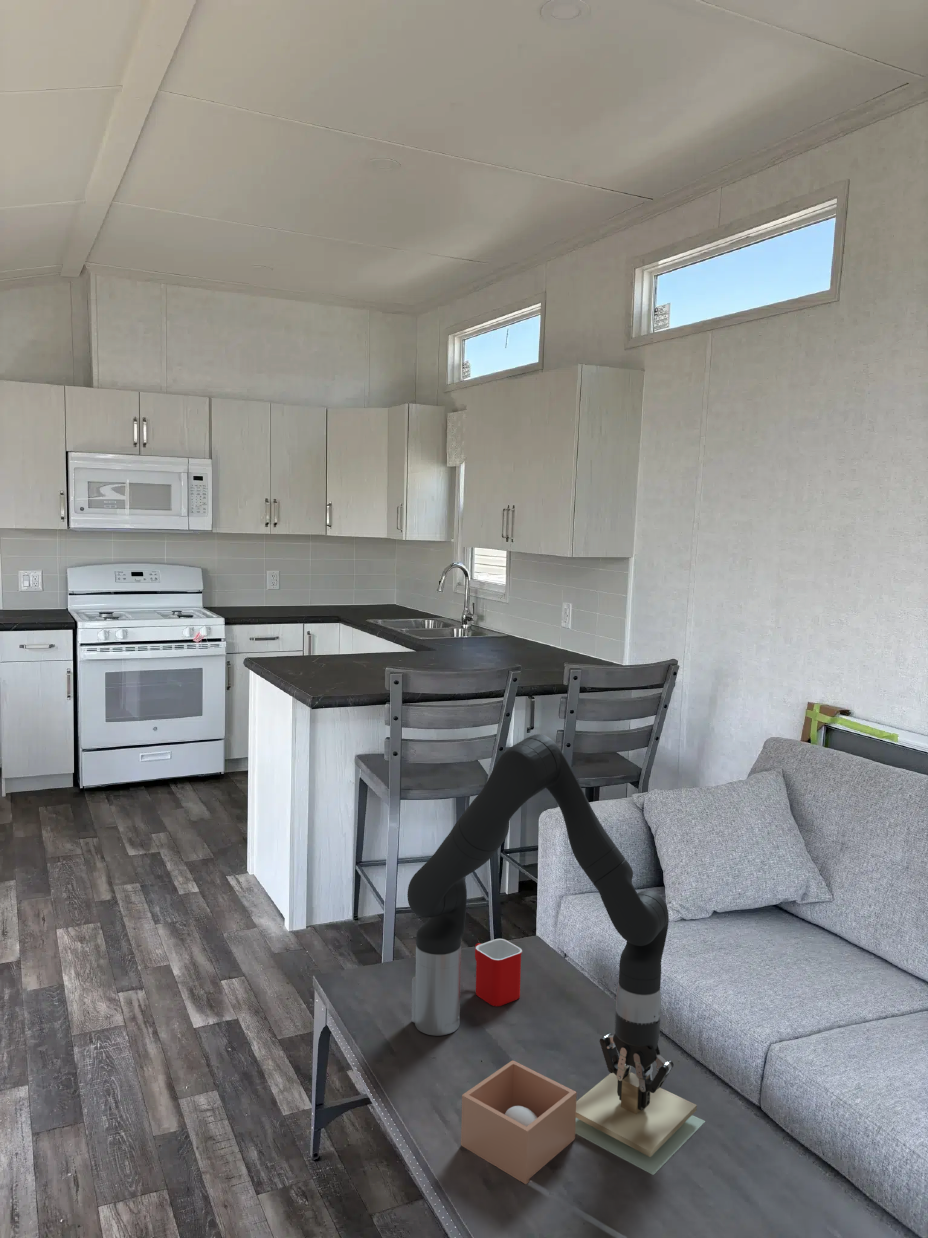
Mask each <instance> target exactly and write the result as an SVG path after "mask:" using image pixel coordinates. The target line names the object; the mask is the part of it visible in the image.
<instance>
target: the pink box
mask: <svg viewBox="0 0 928 1238" xmlns="http://www.w3.org/2000/svg"><path fill="white" fill-rule="evenodd" d="M577 1095H578V1094H577V1091H575V1090H574V1089H571V1088H569V1087H568V1086H565V1085H563V1084H562V1083H559V1082H557V1081H555V1080H554V1079H552V1078H550V1077H547V1076H545V1075H543V1074H541V1073H540V1072H537V1071H535V1070H533V1069H531V1068H529V1067H528V1066H525V1065H523V1064H521V1063H519V1062H517V1061H515V1060H511V1061H509V1062H508V1063H506V1064H505V1065H503V1066H502V1067H501V1068H499V1069H497V1070H496V1071H495V1072H493V1073H492V1074H490V1075H489V1076H488V1077H486V1078H485V1079H483V1080H481V1081H480V1082H479V1083H477V1084H476V1085H475V1086H473V1087H471V1088H470V1089H468V1090H467V1091H466V1092H464V1093H463V1094H462V1095H461V1125H460V1126H461V1127H460V1128H461V1131H460V1132H461V1133H460V1135H461V1136H460V1146H461V1147H463V1148H465V1149H466V1150H468V1151H470V1152H471V1153H473V1154H474V1155H476V1156H478V1157H479V1158H480V1159H483V1160H485V1161H486V1162H488V1163H489V1164H491V1165H493V1166H495V1167H496V1168H498V1169H499V1170H501V1171H502V1172H505V1173H506V1174H508V1175H509V1176H511V1177H513V1178H514V1179H516V1180H518V1181H519V1182H520V1183H521V1182H522V1183H523V1184H524V1185H528V1183H530V1182H531V1181H532V1179H531V1178H532V1177H533V1176H534V1175H535V1174H537V1172H539V1171H540V1170H541V1169H542V1168H543V1167H545V1165H547V1164H548V1163H549V1162H551V1161H552V1160H553V1159H554V1158H556V1156H557V1155H558V1154H560V1152H562V1151H563V1150H564V1149H566V1147H568V1146H569V1145H570V1144H571V1143H572V1142H573V1141H574V1140H576V1134H575V1125H576V1101H577ZM513 1106H523V1107H526V1108H528V1109H529V1110H531V1111H532V1112H533V1113H534V1114H535V1115H536V1116H537V1119H536V1120H534V1121H533V1122H532V1123H531V1124H529V1125H528V1126H527V1127H526V1126H524V1125H523V1124H521V1123H519V1122H517V1121H515V1120H514V1119H512V1118H510V1117H508V1116H506V1115H505V1113H506V1111H507V1110H508V1109H509V1108H511V1107H513Z"/></svg>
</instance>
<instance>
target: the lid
mask: <svg viewBox="0 0 928 1238" xmlns="http://www.w3.org/2000/svg"><path fill="white" fill-rule="evenodd" d="M617 1086H618V1079H617V1076H616V1075H615V1074H614V1073H610V1072H609V1073H608V1074H607V1075H606V1076H605V1077H604V1078H603V1079H602V1080H600V1081H599V1082H598V1083H596V1084H595V1085H594V1086H593V1087H592V1088H591V1089H589V1090H588V1091H587V1092H586V1093H585V1094H584V1095H582V1096H581V1097H580V1098H579V1099H578V1100H576V1118H578V1119H579V1120H581V1121H583V1122H585V1123H587V1124H589V1125H591V1126H593V1127H594V1128H596V1129H598V1130H600V1131H602V1132H604V1133H606V1134H608V1135H610V1136H611V1137H613V1138H615V1139H617V1140H619V1141H621V1142H623V1143H625V1144H626V1145H628V1146H630V1147H632V1148H634V1149H636V1150H638V1151H640V1152H641V1153H643V1154H645V1155H647V1156H649V1157H651V1156H652V1155H653V1154H654V1153H655V1152H656V1151H657V1150H658V1149H659V1148H660V1147H661V1146H662V1145H663V1144H664V1143H665V1142H666V1141H667V1140H668V1139H669V1138H670V1137H671V1136H672V1135H673V1134H674V1133H675V1132H676V1131H677V1130H678V1129H679V1128H680V1127H681V1126H682V1125H683V1124H684V1123H685V1122H686V1121H687V1120H688V1119H689V1118H690V1117H691V1116H692V1115H693V1116H694V1113H696V1111H698V1110H697V1107H698V1106H697V1104H696V1103H693V1102H691V1101H689V1100H687V1099H685V1098H684V1097H681V1096H678V1095H677V1094H674V1093H672V1092H670V1091H668V1090H666V1089H664V1088H661V1087H660V1088H658V1089H657V1090H656V1092H655V1093H651V1092H650V1104H649V1105H648V1106H647V1107H646V1108H645V1109H643V1110H642V1111H641V1110H639V1109H638V1090H639V1089H640V1088H639V1079H638V1078H637V1076H636V1073H633V1072H631V1071H630V1074H629V1075H627V1076H626V1077H625V1078H624V1079H623V1080H622V1094H621V1100H619V1096H618V1094H617Z"/></svg>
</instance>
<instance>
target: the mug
mask: <svg viewBox="0 0 928 1238" xmlns="http://www.w3.org/2000/svg"><path fill="white" fill-rule="evenodd" d="M474 946H475V947H474V958H475V963H476V965H475V970H476V971H475V995H476V996H477V997H478V998H480V999H481V1000H483V1001H484V1002H486V1003H488V1004H489V1005H490V1006H493V1007H501V1006H504V1005H506V1004H509V1003H512V1002H514V1001H516V1000H518V999H520V997H521V975H522V974H521V971H522V969H521V968H522V954H523V949H522V948H521V947H520V946H517V945H515V944H514V943H512V942H510V940H509V941H508V940H507V939H505V938H496V939H491V940H489V941H486V942H484V943H479V942H478V943H476V944H475V945H474Z"/></svg>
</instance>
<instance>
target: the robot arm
mask: <svg viewBox="0 0 928 1238" xmlns="http://www.w3.org/2000/svg"><path fill="white" fill-rule="evenodd" d="M545 789H546V790H547V791H548V792H549V793H550V795H552V797H553V798H554V800H555V802H556V804H557V805H558V807H559V809H560V812H561V814H562V817H563V820H564V825H565V828H566V832H567V833H566V834H567V837H568V841H569V845H570V848H571V852H572V853H573V856H574V858H575V859H576V861H577V863H578V865H579V866H580V868H581V869H582V870H583V873H585V875H586V876H587V877H588V879H589V880H590V882H591V883H592V884H593V886H594V887H595V888H596V889H597V891H598V893H599V896H600V899H601V901H602V904H603V906H604V908H605V911H606V912H607V915H608V917H609V919H610V921H611V924H612V926H613V927H614V929H615V930H616V931H617V933H618V934H619V935H620V936H621V938H622V939H623V940H625V941H626V943H625V945H624V948H623V950H622V952H621V953H620V954H621V955H620V959H619V967H618V968H619V970H618V972H619V973H618V984H617V985H618V986H617V990H616V995H615V997H616V999H615V1014H614V1015H615V1017H614V1019H615V1020H614V1032H615V1033H614V1034H612V1033H611V1032H607V1033H606V1034H605V1035H603V1036H602V1037H601V1038H600V1039H599V1044H600V1046H601V1051H602V1054H603V1057H604V1061H605V1065H606V1067H607V1071H608V1072H609V1074H610V1073H614V1074H615V1075H616V1076H617V1079H618V1086H617V1094H618V1096H619V1100H621V1094H622V1080H623V1079H624V1078H625V1077H626V1076H627V1075H629V1074H630V1073H631V1069H632V1067H633V1068H634V1069H635V1074H636V1076H637V1078H638V1079H639V1088H640V1089H639V1090H638V1109H639V1110H641V1111H642V1110H643V1109H645V1108H646V1107H647V1106H648V1105H649V1104H650V1092H651V1093H655V1092H656V1090H657V1089H658V1088H661V1087H662V1086H663V1084H664V1083H665V1081H666V1079H667V1078H668V1076H669V1075H670V1073H671V1071H672V1070H673V1068H674V1062H673V1061H672V1060H670V1059H669V1060H666V1059H665V1058H664V1057H663V1056H662V1055H661V1051H660V1047H659V1039H660V1030H661V1027H660V1026H661V1014H662V994H661V981H662V980H661V979H662V959H663V954H664V949H665V945H666V940H667V934H668V930H669V922H670V918H669V915H670V914H669V909H668V907H667V904H666V901H665V900H664V899H663V897H662V896H661V895H660V894H658V893H657V892H655V891H652V890H643V891H640V892H637V890H636V888H635V886H634V884H633V878H634V877H633V876H634V872H633V868H632V866H631V865H630V863H629V862H628V860H627V859H626V858H625V856H624V855H623V853H622V852H621V851H620V849H619V848H618V847H617V845H616V844H615V842H614V841H613V839H611V837H610V836H609V834H608V833H607V831H606V830H605V828H604V827H603V825H602V824H601V822H600V820H599V818H598V816H597V815H596V813H595V811H594V809H593V808H592V806H591V804H590V802H589V800H588V798H587V796H586V794H585V792H584V791H583V788H582V787H581V785H580V783H579V781H578V780H577V778H576V775H575V774H574V772H573V770H572V768H571V766H570V764H569V761H568V760H567V758H566V756H565V754H564V753H563V751H562V750H561V748H560V747H559V746H558V744H557V743H556V742H555V741H554V740H553V739H551V737H548V736H547V735H544V734H540V733H539V734H533V735H530V736H529V737H526V738H524V739H522V740H520V741H518V742H517V743H515V744H514V745H512V746H510V747H509V748H507V749H505V751H504V752H503V753H502V754H501V755H500V757H499V758H498V760H497V762H496V763H495V765H494V767H493V769H492V771H491V773H490V775H489V777H488V779H487V781H486V783H485V785H484V786H483V787H482V789H481V791H480V792H479V793H478V794H477V796H475V798H474V799H473V800H472V802H471V803H470V804H469V805H468V807H467V808H466V809H465V811H464V812H463V813H462V814H461V815H460V817H459V819H458V820H457V821H456V823H455V824H454V825H453V827H452V829H450V832H449V833H448V834H447V836H446V837H445V838H444V839H443V841H442V842H441V844H440V845H439V846H438V848H437V849H436V851H435V852H434V853H433V855H432V856H431V857H430V858H429V859H428V860H427V861H426V862H425V863H424V864H423V865H422V866H421V868H419V869H418V870H417V871H416V872H415V874H413V875H412V877H411V879H410V880H409V884H408V886H407V902H408V906H409V908H410V910H411V911H412V912H413V914H414V915H416V916H418V917H420V918H424V919H428V920H426V921H425V922H424V923H423V924H422V925H420V926H419V928H418V929H417V931H416V934H415V936H416V937H415V939H416V940H415V975H414V976H413V977H412V979H411V1022H412V1023H413V1024H414V1025H415V1028H416V1029H417V1030H418V1031H419V1032H421V1033H423V1034H426V1035H429V1036H435V1037H436V1036H446V1035H450V1034H452V1033H454V1032H455V1031H457V1030H458V1029H459V1027H460V1021H461V1020H460V1014H461V1013H460V1012H461V977H462V976H461V974H462V973H461V971H462V970H461V969H462V968H461V967H462V938H463V936H464V933H465V927H466V913H467V902H468V901H467V900H468V894H467V892H468V890H467V883H466V880H465V877H467V876H468V875H470V874H472V873H473V872H475V871H476V870H479V868H481V867H482V866H483V865H485V864H486V863H487V862H488V861H489V860H490V859H491V858H492V857H493V856H494V855H495V853H496V852H498V850H499V849H500V847H501V846H503V845H502V844H503V843H504V841H505V840H506V839H507V837H508V833H509V830H510V821H511V819H512V817H513V816H514V814H515V813H516V812H517V811H519V809H520V808H521V807H522V806H523V805H524V804H525V803H526V802H528V801H529V800H530V799H531V798H532V797H534V796H536V795H538V794H539V793H540V792H542V791H544V790H545ZM654 1062H655V1063H656V1066H655V1067H656V1069H655V1071H656V1072H657V1073H656V1074H655V1076H654V1078H653V1075H652V1074H653V1071H654V1070H653V1069H654V1068H653V1063H654Z"/></svg>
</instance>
